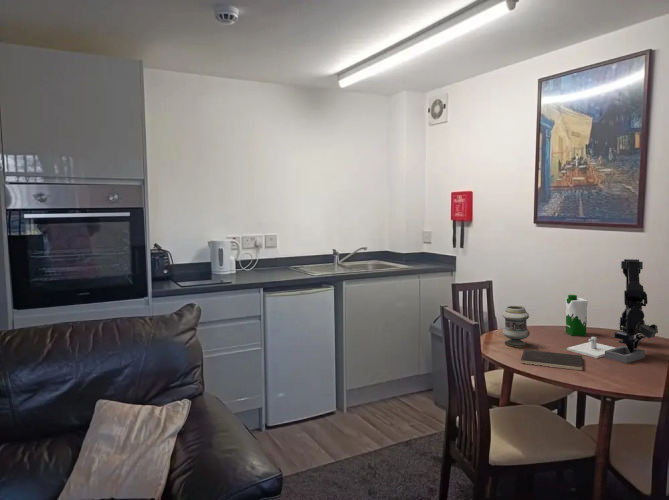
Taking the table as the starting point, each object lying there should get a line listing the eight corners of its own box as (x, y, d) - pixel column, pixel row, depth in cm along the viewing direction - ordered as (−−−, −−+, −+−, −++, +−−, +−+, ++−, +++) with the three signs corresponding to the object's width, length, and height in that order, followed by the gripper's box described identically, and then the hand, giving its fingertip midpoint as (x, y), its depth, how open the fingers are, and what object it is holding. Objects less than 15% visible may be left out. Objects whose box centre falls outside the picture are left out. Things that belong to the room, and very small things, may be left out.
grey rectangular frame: (623, 352, 208) (623, 345, 207) (644, 357, 200) (645, 350, 199) (604, 357, 201) (604, 351, 200) (626, 363, 193) (626, 356, 193)
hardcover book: (582, 372, 186) (582, 366, 186) (520, 364, 196) (520, 359, 196) (582, 360, 200) (582, 355, 200) (524, 353, 211) (524, 348, 210)
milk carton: (562, 331, 243) (563, 293, 241) (580, 331, 243) (581, 293, 241) (571, 336, 234) (572, 297, 233) (589, 336, 234) (590, 296, 232)
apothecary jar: (499, 340, 230) (499, 304, 229) (523, 340, 230) (524, 304, 228) (507, 347, 218) (507, 309, 216) (533, 347, 218) (533, 309, 216)
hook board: (590, 343, 222) (591, 331, 221) (620, 351, 209) (621, 337, 209) (566, 350, 213) (567, 337, 212) (597, 358, 201) (597, 344, 200)
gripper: (641, 323, 190) (640, 361, 192) (666, 317, 199) (664, 353, 201) (614, 318, 200) (613, 354, 201) (638, 313, 209) (637, 347, 210)
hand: (632, 352), depth 203 cm, fingers closed on grey rectangular frame
